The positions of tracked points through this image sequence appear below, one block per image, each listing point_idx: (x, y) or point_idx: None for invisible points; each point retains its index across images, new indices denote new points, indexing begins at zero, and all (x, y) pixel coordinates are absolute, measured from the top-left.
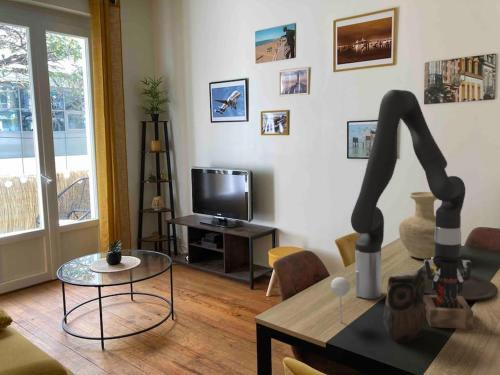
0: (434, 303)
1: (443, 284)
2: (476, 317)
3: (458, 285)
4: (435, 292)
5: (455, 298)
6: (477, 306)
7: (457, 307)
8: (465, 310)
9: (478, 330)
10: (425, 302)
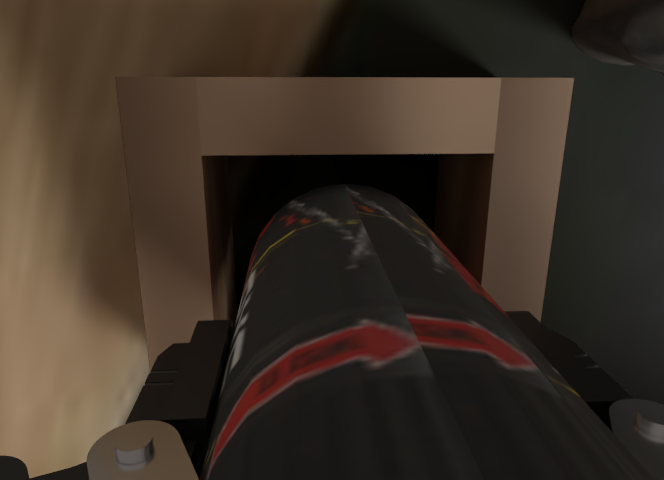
0: None
1: (498, 318)
2: (98, 296)
3: (207, 382)
4: (520, 313)
5: (276, 244)
6: None
7: None
8: (194, 107)
9: (123, 57)
10: None
